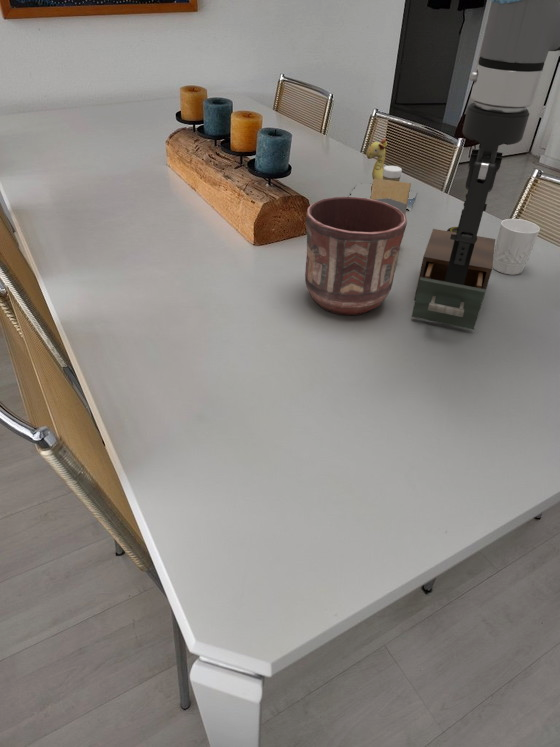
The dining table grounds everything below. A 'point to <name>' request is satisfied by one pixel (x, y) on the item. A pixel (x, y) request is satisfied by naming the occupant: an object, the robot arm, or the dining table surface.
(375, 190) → the sandwich container
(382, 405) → the dining table surface
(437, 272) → the drawer
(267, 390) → the dining table surface
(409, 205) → the stuffed giraffe
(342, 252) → the pottery
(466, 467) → the dining table surface
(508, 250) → the white cup
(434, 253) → the cabinet
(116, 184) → the dining table surface
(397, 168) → the sprinkles bottle
